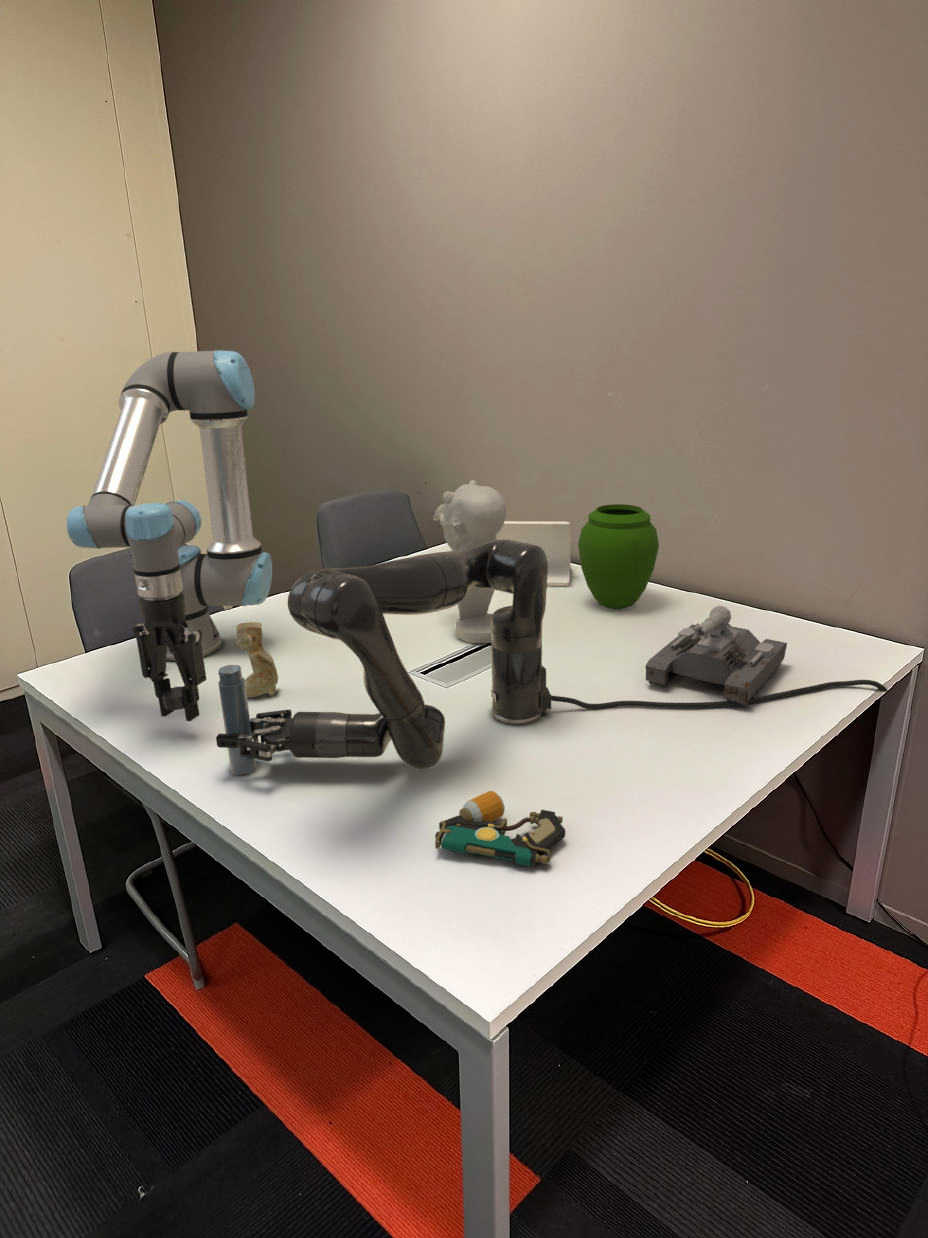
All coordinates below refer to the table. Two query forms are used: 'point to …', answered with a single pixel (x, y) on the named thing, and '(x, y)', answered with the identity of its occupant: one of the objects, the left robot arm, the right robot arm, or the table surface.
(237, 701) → the bottle
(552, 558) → the tablet stand
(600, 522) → the vase
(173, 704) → the lid
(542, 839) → the spray gun
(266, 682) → the sculpture
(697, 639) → the toy
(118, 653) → the table surface
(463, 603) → the bust sculpture
